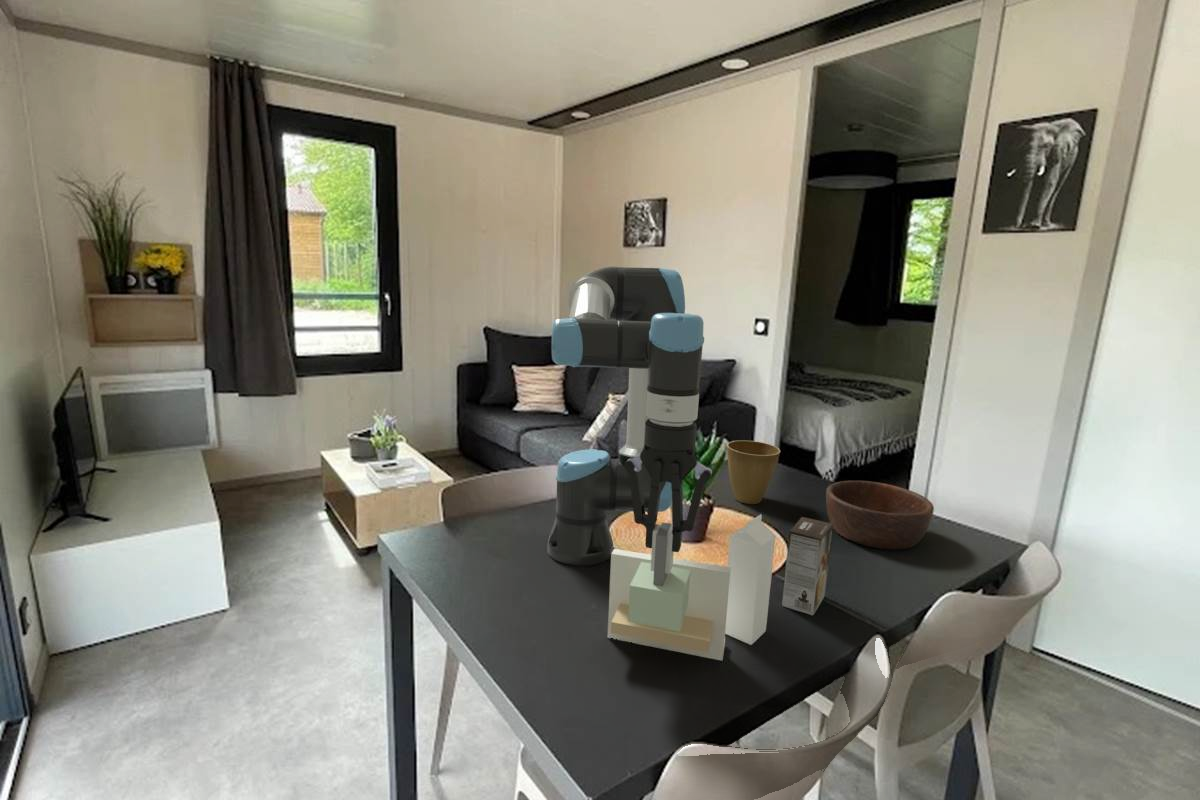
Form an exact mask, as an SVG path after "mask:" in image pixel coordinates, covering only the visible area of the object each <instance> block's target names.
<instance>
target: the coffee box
mask: <svg viewBox="0 0 1200 800" xmlns="http://www.w3.org/2000/svg"><path fill="white" fill-rule="evenodd" d="M833 530H834V529H833V524H832V523H830V522H826V521H822V520H818V519H813V518H808V517H803V516H801V517H800V518H799V520H798V521H796V523H795V524H794V526H793V527H792V528H791V529H790V530H789V535H788V544H787V545H788V546H787V552H786V553H787V555H786V562H785V573H784V583H783V584H784V585H783V590H782V593H783V594H782V601H781V606H782V607H785V608H788V609H790V610H794V611H797V612H801V613H803V614H807V615H810V616H814V615H815V613H816V612H817V610H818V608H819V607H820V605H821V604H822V602H823V600H824V598H825V595H826V587H827V586H826V585H827V578H828V571H829V569H828V568H829V561H830V552H831V545H832V536H833Z"/></svg>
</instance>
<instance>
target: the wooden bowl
mask: <svg viewBox="0 0 1200 800" xmlns="http://www.w3.org/2000/svg"><path fill="white" fill-rule="evenodd" d="M825 499H826V500H825V501H826V513H827V517H828V520H829V523H832V524H833V529H832V530H834V531H835V532H836V534H838V535H839V534H840V535H839V536H841V537H842V536H843V538H844V539H845V540H848V541H850V540H851V541H850V542H853V543H856V544H857V545H861V546H864V547H869V548H873V547H874V548H875V549H879V550H890V551H892V550H894V551H895V550H896V551H897V550H906V549H909V548H910V549H911V548H912V547H914V546H916V545H917V544H918V543H919V542H920V541H922V538H923V537H924V536H925V535H926V533H927V531H928V529H929V526H930V524H931V521H932V518H933V515H934V512H935V508H934V507H935V506H934V505H933V503H932V502H931V500H929V499H928V498H927V497H925V496H923V495H921V494H919V493H917V492H915V491H914V490H913V491H912V490H909V489H907V488H903V487H900V486H897V485H893V484H888V483H882V482H877V481H869V480H841V481H838V482H834V483H831V484H830V485H829V486H827V488H826V493H825ZM874 548H873V549H874Z"/></svg>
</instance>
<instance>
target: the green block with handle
mask: <svg viewBox="0 0 1200 800" xmlns="http://www.w3.org/2000/svg"><path fill="white" fill-rule="evenodd" d="M660 525H661V526H660V528H659V531H658V532H657V534H656V546H655V562H654V571H651V563H646V562H641V564H640V566H639V568H638V570H637V572H636V574H635V576H634V578H633V580H632V582H631V584H630V594H629V614H628V621H629V622H634V623H639V624H644V625H649V626H654V627H660V628H665V629H670V630H675V631H681V627H682V624H683V620H684V617H685V613H686V609H687V606H688V597H689V584H690V570H687V569H681V568H675V567H672V569H671V572H670V574H667V573H665V565H666V550H667V534H668V531H669V529H670V526H672V527H673V525H672V523H669V522H661V523H660Z"/></svg>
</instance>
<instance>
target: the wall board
mask: <svg viewBox="0 0 1200 800" xmlns="http://www.w3.org/2000/svg"><path fill="white" fill-rule="evenodd" d="M651 555H652V554H650V553H642V552H635V551H630V550H624V549H618V548H613V552H612V553H611V557H610V570H609V571H610V574H609V597H608V598H609V599H608V620H607V621H608V622H607V639H611V638H613V639H612V640H616V639H617V641H622V642H626V643H627V642H628V643H631V642H632V643H633V644H636V645H643V646H646V647H653V648H657V649H660V650H661V649H662V650H667V651H671V652H672V651H673V652H677V653H683V654H687V655H691V656H695V657H696V656H698V657H701V658H707V659H711V660H716V661H723V659H724V653H725V652H724V651H725V645H726V634H725V630H726V618H727V607H728V596H729V584H730V573H731V567H727V566H723V565H717V564H712V563H705V562H699V561H693V560H686V559H680V558H675V557H673V567H675V568H681V569H687V570H690V584H689V597H688V606H687V609H686V613H685V617H684V620H683V624H682V627H681V631H675V630H670V629H665V628H660V627H654V626H649V625H644V624H639V623H634V622H629V621H628V614H629V594H630V584H631V582H632V580H633V578H634V576H635V574H636V572H637V570H638V568H639V566H640V564H641V562H646V563H651Z"/></svg>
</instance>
